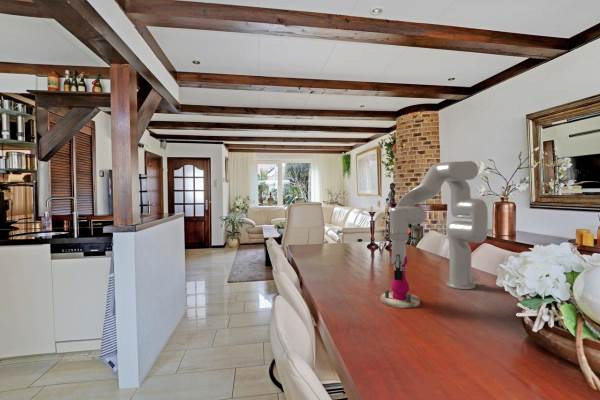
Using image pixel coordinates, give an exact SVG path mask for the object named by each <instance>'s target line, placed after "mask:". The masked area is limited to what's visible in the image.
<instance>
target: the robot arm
mask: <svg viewBox="0 0 600 400" xmlns="http://www.w3.org/2000/svg"><path fill="white" fill-rule="evenodd" d="M478 174H479V166H478V164H477V163H476V162H475V161H472V160H469V161H468V160H467V161H465V160H464V161H446V162H444V161H443V162H437V163H434V164H432V165H431V166H430V167H429V169H428V170H427V172H426V173H425V175H424V176H423V178H422V179H421V181H420V183H419V184H418V185H417V186H416V187H414V188H413V189H411V190H410V191H408V192H407V193H406V194H404V195H403V196H401V198H400V200H399V201H398V202H397V204H396V205H395V207H391V208H390V209H389V240H390V241H391V265H394V263H395V269H394V271H393V273H394V274H393V275H394V276H393V280H394V279H395V280H401V281H402V280H403V271H402V265H403V264H404V260H405V256H406V254H407V253H406V250H407V249H406V248H407V246H406V244H407V243H406V242H408V241H409V239H410V238H409V224H412V225H420V224H422V223H424V222H425V220H426V219H427V212H426V210H425V208H423V207H420V206H416V205H418V204H420V203H423V202H424V201H428V200H431V199H433V198H434V197H436V196H437V194H438V193H439V191H440V189H441V187H442V186H443V184H444V183H445V182H446V183H447V184H448V186H449V189H450V214H451V215H452V217H454V218H456V219H457V218H458V219H466V221H465V220H454V221H451V222H449V224H447V228H446V233H447V234H446V235H447V237H448V238H447V239H448V245H449V247H448V248H449V249H448V250H449V253H448V254H449V255H448V256H449V280H447V281H446V282H445V284H446V286H447V287H449V288H453V289H458V290H473V289H476V284H475V283H474V282H477V281H478V280H479V277H478V276H477V275H475V276H472V248H471V246H470V244H469V243H475V244H479V243H483V242H485V241H486V239H487V236H488V217H489V216H488V214H489V213H488V212H489V211H488V206H487V203H486V202H485V200H483V199H481V198H471V187H470V185H469V183H468V182H467V181H470V180H471V181H472V180H473V179H475V178H476V177H477V176H478ZM467 219H468V220H469V219H470V220H471V221H467ZM399 262H401V263H399Z"/></svg>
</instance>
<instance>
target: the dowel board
mask: <svg viewBox="0 0 600 400" xmlns="http://www.w3.org/2000/svg"><path fill="white" fill-rule="evenodd" d="M393 292H394V291H389V290H388V289H384V293H382V294H381V295H380V296H379V297H380V299H379V300H380V303H382V304H383V305H385V306H388V307H393V308H399V309H414V308H417V307H419V306H420V305H421V298H420V297H419V296H417V295H415V294H412V293H408V292H407V294H406V298H407V300H397V299H394V298H393Z"/></svg>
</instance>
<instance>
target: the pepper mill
mask: <svg viewBox="0 0 600 400" xmlns="http://www.w3.org/2000/svg"><path fill="white" fill-rule="evenodd" d="M399 263H401V262H399ZM407 264H408V257H407V256H406V255H405V260H404V264H403V265H402V271H403V280H402V281H401V280H395V279H394V278H393V280H392V282H391V285H390V286H391V287H390V288H391V290H392V292H393V298H394V299H397V300H407V298H406V294H407V293H408V292H409V291H410V285H409V282H408V280H407V278H406V270H407V266H406V265H407ZM393 269H394V270H395V263H394V264H393Z"/></svg>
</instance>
